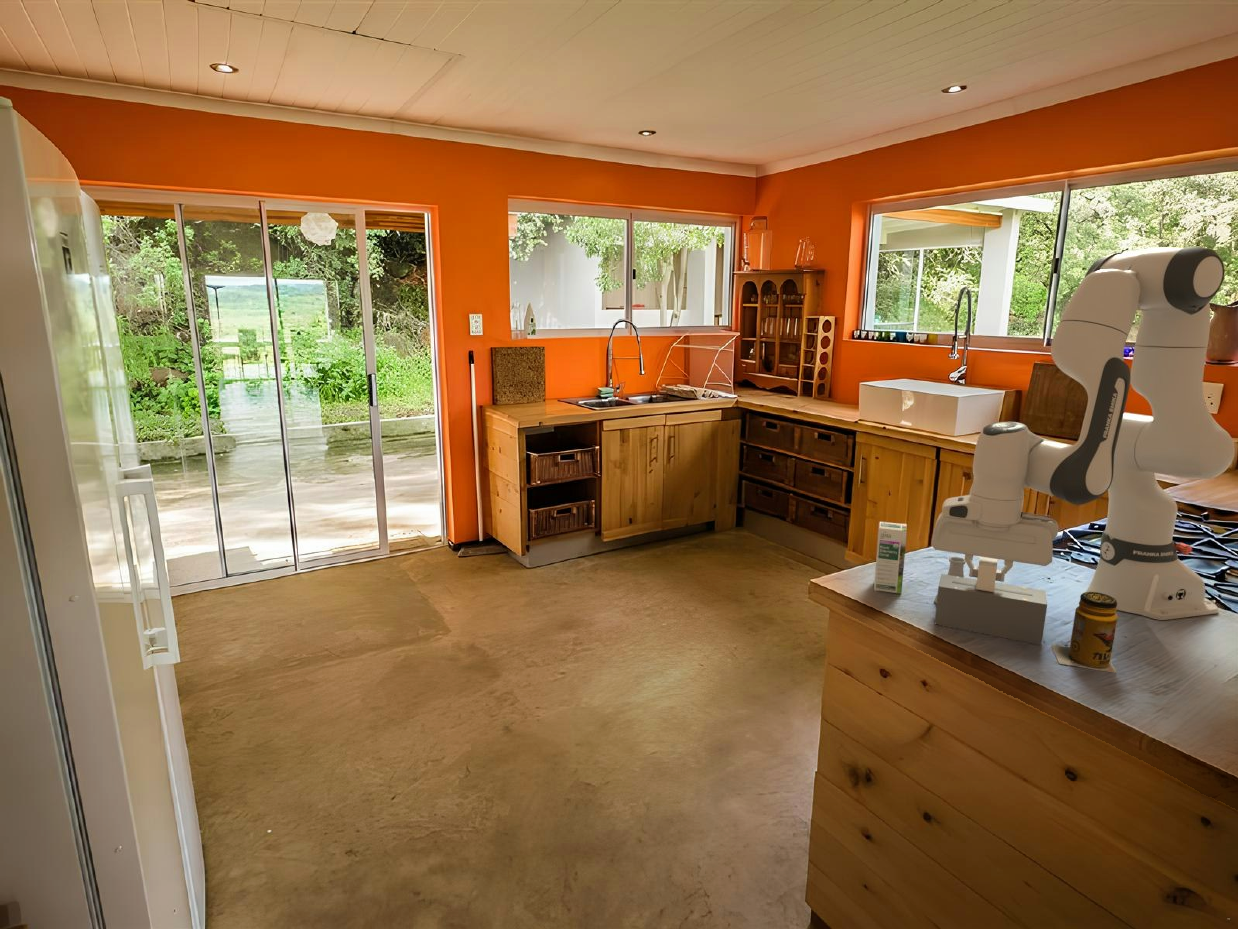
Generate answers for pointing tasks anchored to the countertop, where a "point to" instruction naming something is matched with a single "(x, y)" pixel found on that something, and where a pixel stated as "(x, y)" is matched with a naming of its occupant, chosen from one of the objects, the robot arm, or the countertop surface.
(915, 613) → the countertop surface
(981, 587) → the fader
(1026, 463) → the robot arm
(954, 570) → the flask
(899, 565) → the syrup box
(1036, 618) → the console
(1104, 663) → the condiment
